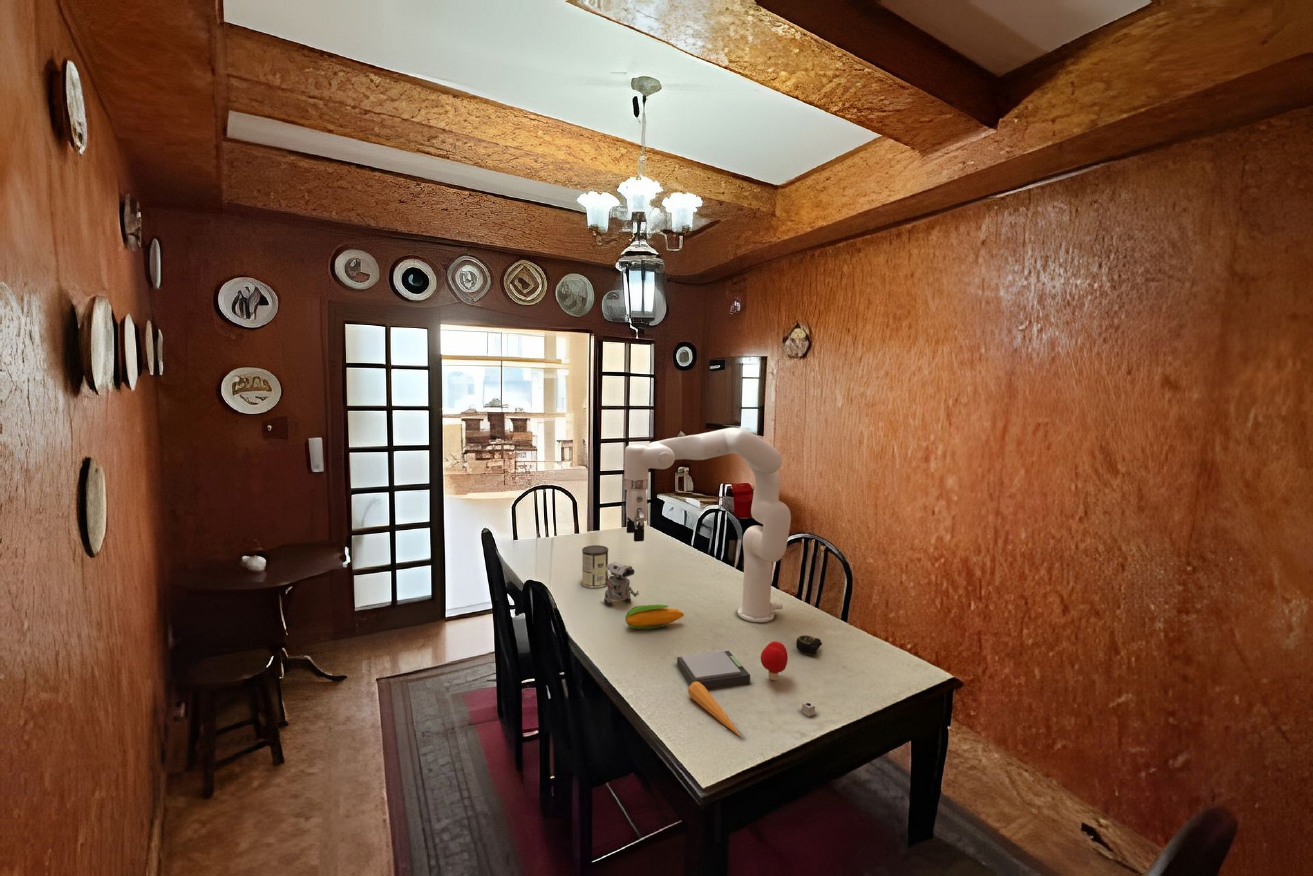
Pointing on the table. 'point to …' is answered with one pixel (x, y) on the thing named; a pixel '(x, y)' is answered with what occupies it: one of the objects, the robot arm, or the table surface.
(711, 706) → the carrot
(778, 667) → the red rounded piece
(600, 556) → the coffee can
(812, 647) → the tape measure
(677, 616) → the corn
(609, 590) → the figurine
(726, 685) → the scale
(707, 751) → the table surface
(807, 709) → the white block with hole
